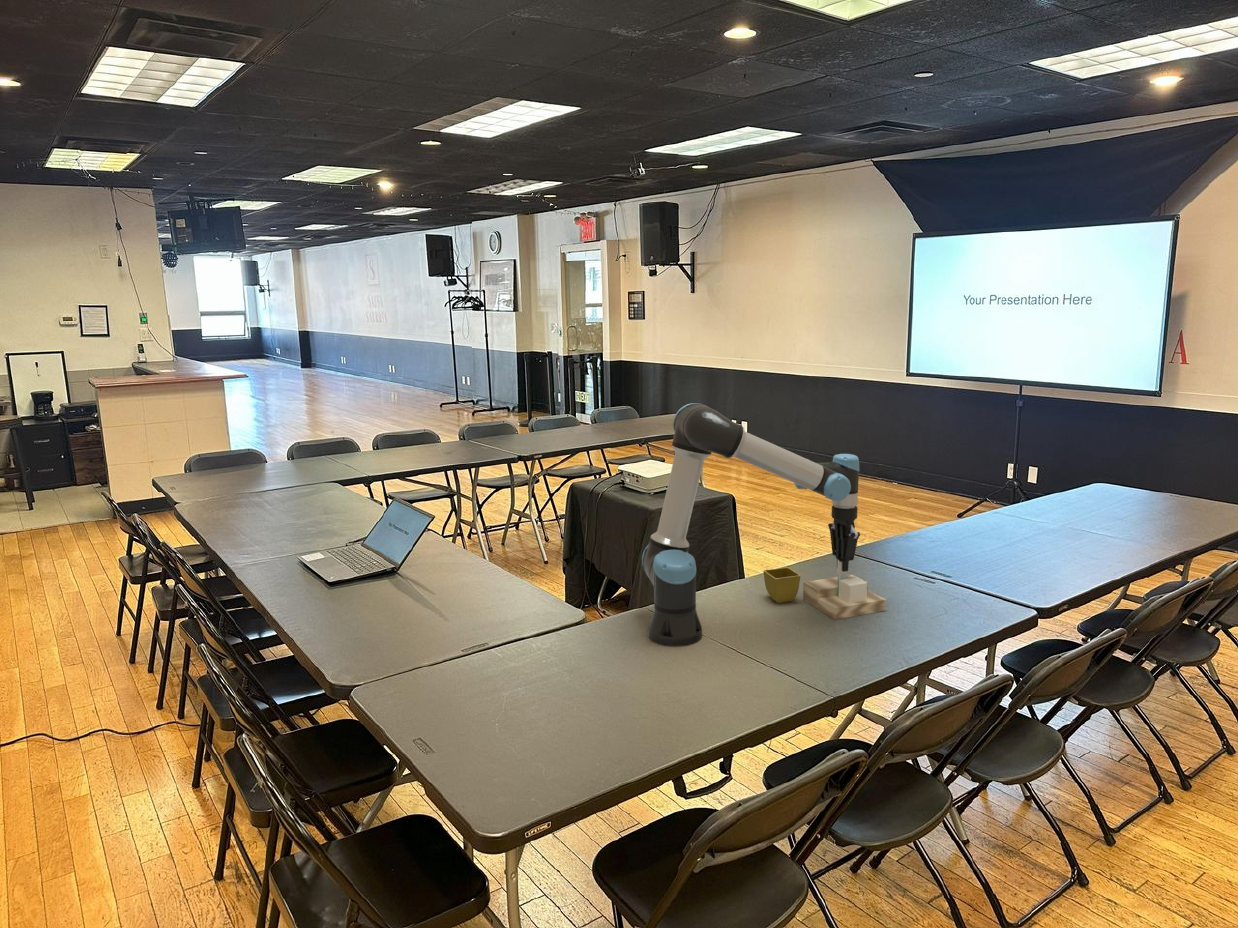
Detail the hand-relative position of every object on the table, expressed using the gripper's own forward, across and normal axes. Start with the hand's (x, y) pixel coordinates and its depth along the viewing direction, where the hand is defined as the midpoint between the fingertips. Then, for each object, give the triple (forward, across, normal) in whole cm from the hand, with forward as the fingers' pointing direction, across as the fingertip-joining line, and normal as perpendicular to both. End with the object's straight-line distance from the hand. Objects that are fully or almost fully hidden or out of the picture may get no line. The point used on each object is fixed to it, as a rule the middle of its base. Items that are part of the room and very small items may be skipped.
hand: (842, 580), depth 245 cm
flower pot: (+8, +10, +15) cm, 20 cm away
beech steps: (+8, -1, 0) cm, 8 cm away
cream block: (+1, -2, 0) cm, 3 cm away
